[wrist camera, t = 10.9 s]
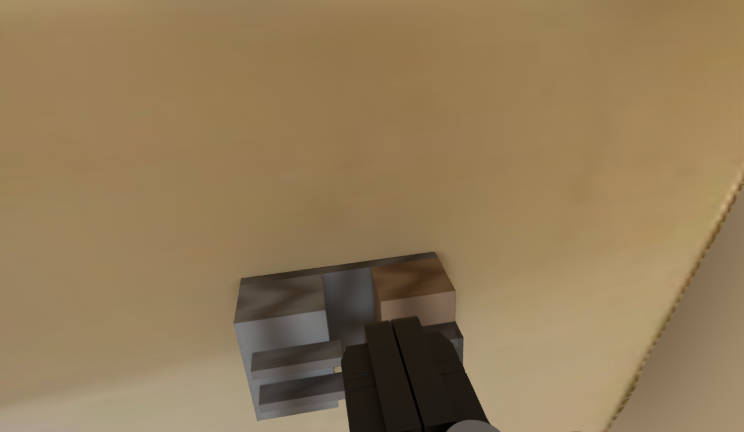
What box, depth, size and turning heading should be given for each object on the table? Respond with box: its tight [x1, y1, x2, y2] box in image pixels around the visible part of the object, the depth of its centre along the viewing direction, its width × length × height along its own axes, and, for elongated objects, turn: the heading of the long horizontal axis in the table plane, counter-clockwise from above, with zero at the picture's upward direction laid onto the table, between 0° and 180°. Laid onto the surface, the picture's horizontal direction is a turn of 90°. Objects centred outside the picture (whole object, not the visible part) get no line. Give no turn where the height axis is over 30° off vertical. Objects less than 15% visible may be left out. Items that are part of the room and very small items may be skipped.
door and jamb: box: [234, 252, 463, 421], centre depth 47 cm, size 20×12×10 cm, turn 94°
